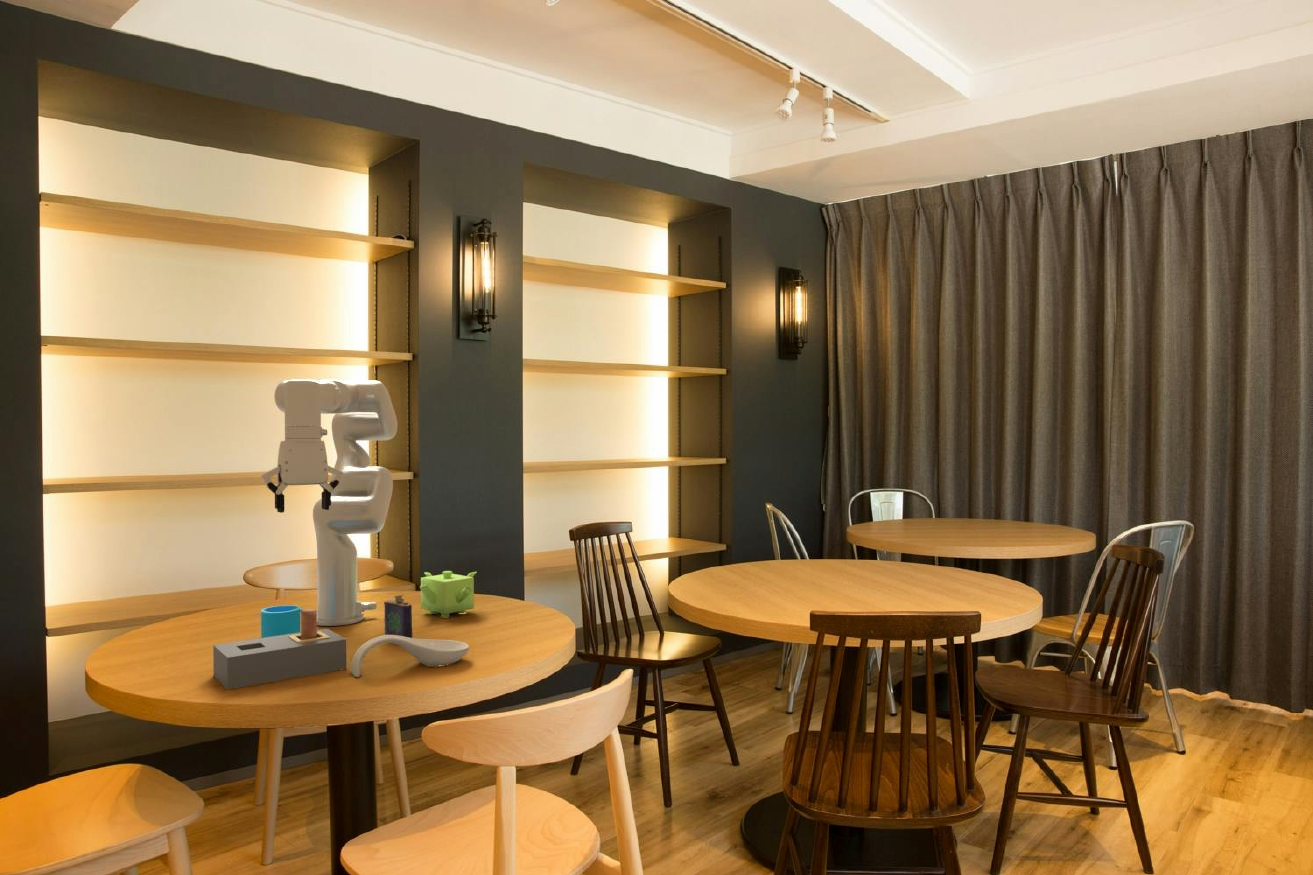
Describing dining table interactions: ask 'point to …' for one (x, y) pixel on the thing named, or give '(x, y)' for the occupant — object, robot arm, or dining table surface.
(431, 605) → the green block with protrusions
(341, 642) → the bore block
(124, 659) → the dining table surface
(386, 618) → the flask
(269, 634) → the mug
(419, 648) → the spoon rest
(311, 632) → the pin
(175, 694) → the dining table surface
